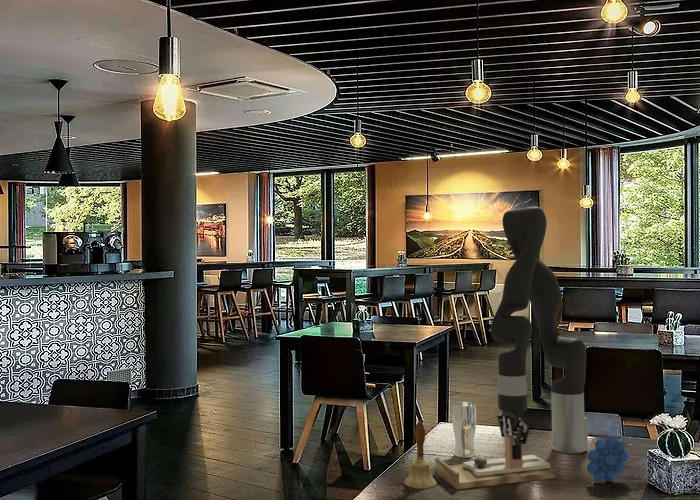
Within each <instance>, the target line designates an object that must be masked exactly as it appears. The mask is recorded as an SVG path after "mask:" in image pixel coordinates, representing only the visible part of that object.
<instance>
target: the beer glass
mask: <svg viewBox="0 0 700 500" xmlns="http://www.w3.org/2000/svg"><path fill="white" fill-rule="evenodd" d="M451 408H452V410H451V422H452V429H453V433H454V434H453V435H454V442H455V444H454V445H455V446H454V447H455V448H454V452H453V453H454V456H455V457H457V458H460V459H469V458H474V457H476V450H475V444H474V443H475V442H474V441H475V436H476V435H475V433H476V428H477V410H476V409H477V408H476V403H475V402H473V401H468V400H467V401H464V400H463V401H462V400H461V401H454V402H453V403H452V407H451Z"/></svg>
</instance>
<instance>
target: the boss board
mask: <svg viewBox="0 0 700 500" xmlns="http://www.w3.org/2000/svg"><path fill="white" fill-rule="evenodd" d="M487 460H488V459H487V458H485V457H475V458H474V460H473V461H474V463H475V464H476V465H478V469H482V468H485V467H483V465H486V464H487ZM434 462H435V463H434V464H435V465H434V466H435V469H434V471H435V473H436V474H437V475H438V476H440V477H441V478H442V479H443V480H445V482H447V483H448V484H449V485H451V487H453V488H454V489H455V490H461V489H462V490H463V489H471V488H477V487H478V488H480V487H487V486H489V487H490V486H497V485H504V484H505V485H506V484H513V483H515V484H516V483H520V482H521V483H522V482H524V483H525V482H530V481H531V482H532V481H539V480H548V479H556V478H557V474H556V473H557V472H556V471H555V470H553V469H551V468H547V469H538V470H529V471H520V472H511V473H502V474H493V475H484V476H477V475H475V474H474V472H473V471H472V470H470V469H469V468H468V469H467V468H465V467H464V466H463V463H459V464H449V465H448V464H447V463H446V462H444V460H442V459H441V458H439V457H435V458H434ZM487 468H490V467H487Z"/></svg>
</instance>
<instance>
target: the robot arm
mask: <svg viewBox="0 0 700 500" xmlns="http://www.w3.org/2000/svg"><path fill="white" fill-rule="evenodd" d="M502 229H503V232H504V235H505V237H506V240H507V243H508V245H509V248H510V250H511V252H512V253H513V254H512V255H513V256H514V258H515V261H514V262H513V264H512V265H511V266H510V268H509V270H508V272H507V273H506V275H505V279H504V284H503V290H502V296H501V301H500V303H499V305H498V307H497V310H496V312H495V313H494V316H493V318H492V320H491V323H490V335H491V337H492V338H493V340H494V341H496V342H500V343H514V344H515V348H514V349H511V350H505V351H502V352H500V353H499V354H498V357H497V362H498V379H497V407H498V409H499V410H500V411H502V413H501V414H498V415H497V417H496V418H497V422H498V426H499V430H500V435H501V437H502V438H504V439H503V440H505V435H510V436H511V437H512V458H513V459H514V460H518V459H521V445H522V446H523V445H526V443H527V441H528V436H529V432H530V428H531V427H530V424H525V422H524V421H525V419H524V414H523V413H524V412H526V411H527V410H528V380H527V372H526V371H527V370H526V369H527V367H526V365H527V363H526V362H527V361H526V360H527V353H528V348H529V344H530V341H531V338H532V334H533V333H532V332H533V324H532V321H531V320H530V319H529V318H528V317H527V316H525V315H512V314H514V313H516V312H520V311H524V310H527V308H528V307H529V303H530V305H531V308H532V311H533V314H534V317H535V320H536V324H537V329H538V331H539V336H540V338H539V339H540V341H541V346H542V350H543V354H544V358H545V361H546V362H547V363H548V365H550V366H551V367H553V368H554V367H555V368H558V369H564V371H565V372H564V376H563V377H561V378H559V379H554V380H552V382H551V384H550V385H551V386H550V387H551V388H550V392H551V396H550V398H551V438H552V439H551V442H552V443H551V445H552V447H551V448H552V450H553V451H555V452H557V453H563V454H567V455H568V454H571V455H573V454H574V455H576V454H580V453H584V452H588V451H589V449H588V448H589V447H588V446H589V445H588V443H589V441H588V440H589V439H588V438H589V437H588V418H587V417H586V416H585V394H584V393H585V384H586V377H587V376H586V374H587V373H586V372H587V348H586V345H585V343H584V341H583V340H582V339H579V338H577V337H576V338H575V337H567V336H566V337H565V336H561V334H560V332H559V329H558V325H557V318H558V316H559V315H558V314H559V311H560V308H561V305H562V303H563V302H562V301H563V295H562V290H561V288H560V283H559V281H558V277H557V276H556V275H555V273H554V272H553V270H552V269H551V268H549V266H547V264H545V262H543V261H542V260H541V259H540V258H539V256H540V253H541V249H542V246H543V243H544V240H545V236H546V232H547V217H546V213H545V212H544V210H543V209H542V208H541V207H539V206H528V207H522V208H515V209H510V210H509V209H508V210H507V211H505V212H504V213H503V216H502ZM515 436H516V440H515Z"/></svg>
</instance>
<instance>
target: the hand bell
mask: <svg viewBox="0 0 700 500" xmlns="http://www.w3.org/2000/svg"><path fill="white" fill-rule="evenodd" d="M414 438H415V439H414V440H415V442H416V445H417V446H416V447H417V448H416V449H417V450H416V459H415V460H413V461H412V462H411V465H410V470H409V471H410V473H409V474H408V476H407V477H406V478H405V480H404V482H403V483H404V486H407V487H409V488H411V489H418V490H426V489H431V488H434V487H436V486H437V481H436V479H435V478H434V477H433V476H432V474H431V469H430V463H429V462H428V461H426V460H425V459H424V456H425V455H424V446H425V445H424V444H425V441H426V430H425V426H424V423H423V421H421V420H419V421H417V424H416V427H415V431H414Z"/></svg>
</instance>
